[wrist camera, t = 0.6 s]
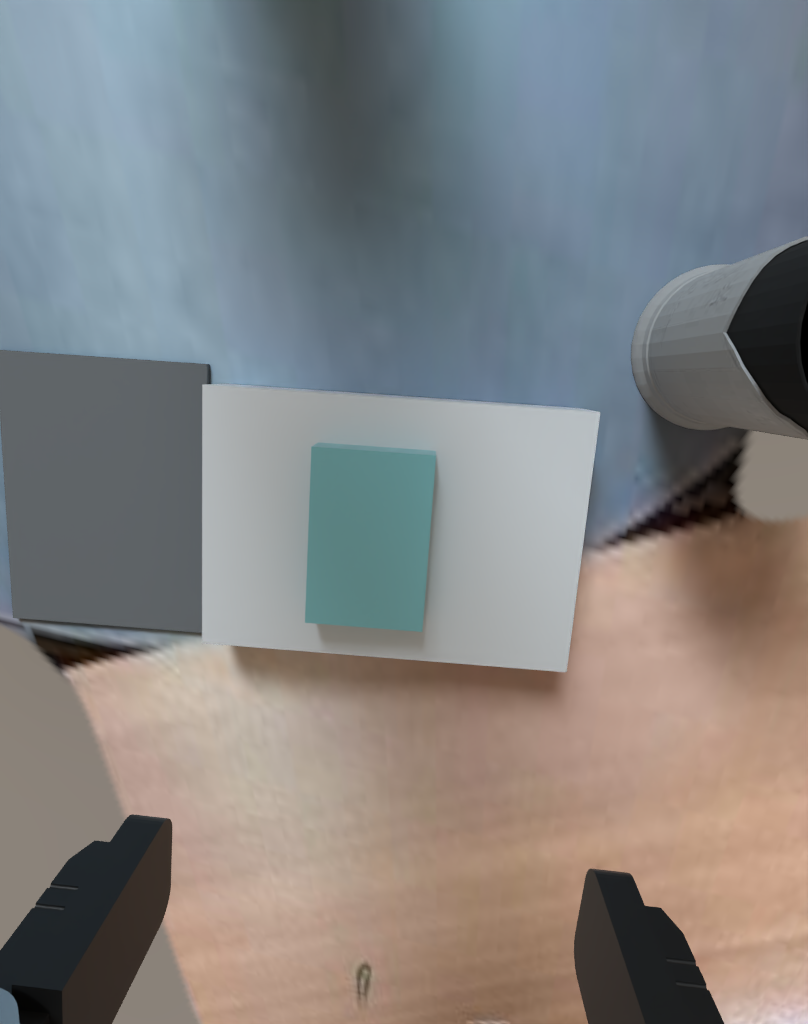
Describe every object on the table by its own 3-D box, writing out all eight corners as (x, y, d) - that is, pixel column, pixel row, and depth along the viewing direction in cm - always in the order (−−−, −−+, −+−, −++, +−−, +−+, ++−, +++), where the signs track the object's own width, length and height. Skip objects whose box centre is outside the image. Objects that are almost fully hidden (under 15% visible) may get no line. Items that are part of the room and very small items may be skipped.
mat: (0, 350, 36) (-5, 349, 36) (209, 364, 36) (207, 364, 36) (17, 615, 40) (13, 617, 39) (208, 630, 39) (206, 633, 39)
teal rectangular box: (318, 442, 33) (311, 446, 31) (435, 450, 32) (436, 455, 31) (311, 608, 34) (304, 622, 33) (422, 617, 34) (422, 631, 32)
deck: (226, 383, 36) (202, 384, 32) (581, 408, 36) (600, 412, 32) (224, 616, 39) (202, 643, 35) (552, 642, 39) (566, 672, 35)
